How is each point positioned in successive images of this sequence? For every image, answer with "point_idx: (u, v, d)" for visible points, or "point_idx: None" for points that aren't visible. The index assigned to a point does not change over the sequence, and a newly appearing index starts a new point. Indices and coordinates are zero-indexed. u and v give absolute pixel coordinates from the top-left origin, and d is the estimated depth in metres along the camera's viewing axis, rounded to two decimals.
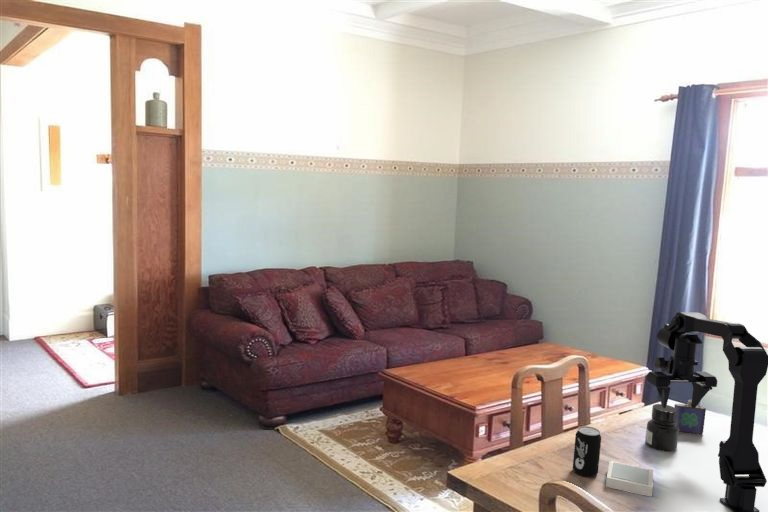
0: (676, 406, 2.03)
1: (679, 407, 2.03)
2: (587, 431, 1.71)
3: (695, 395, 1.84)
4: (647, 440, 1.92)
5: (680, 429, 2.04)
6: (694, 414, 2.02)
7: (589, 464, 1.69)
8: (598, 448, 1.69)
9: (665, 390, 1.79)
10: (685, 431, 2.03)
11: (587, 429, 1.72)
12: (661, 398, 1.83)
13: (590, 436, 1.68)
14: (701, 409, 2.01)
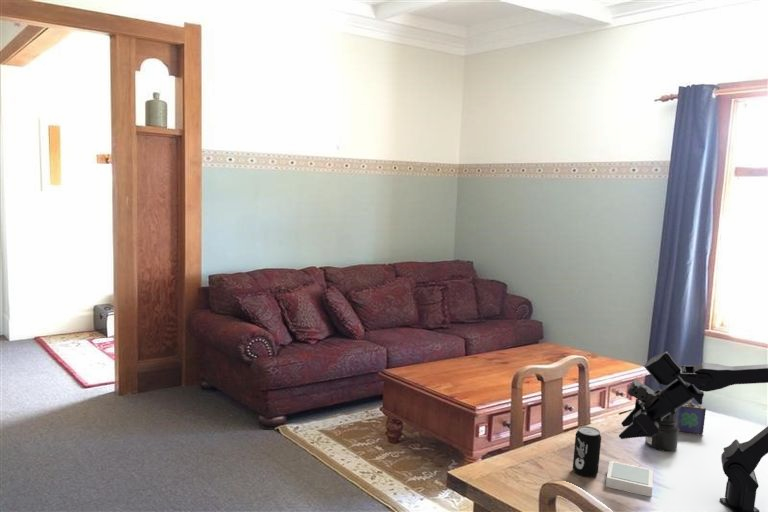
0: None
1: None
2: (587, 431, 1.71)
3: None
4: (647, 440, 1.92)
5: (680, 429, 2.04)
6: (694, 414, 2.02)
7: (589, 464, 1.69)
8: (598, 448, 1.69)
9: None
10: (685, 431, 2.03)
11: (587, 429, 1.72)
12: (628, 432, 1.62)
13: (590, 436, 1.68)
14: (701, 409, 2.01)
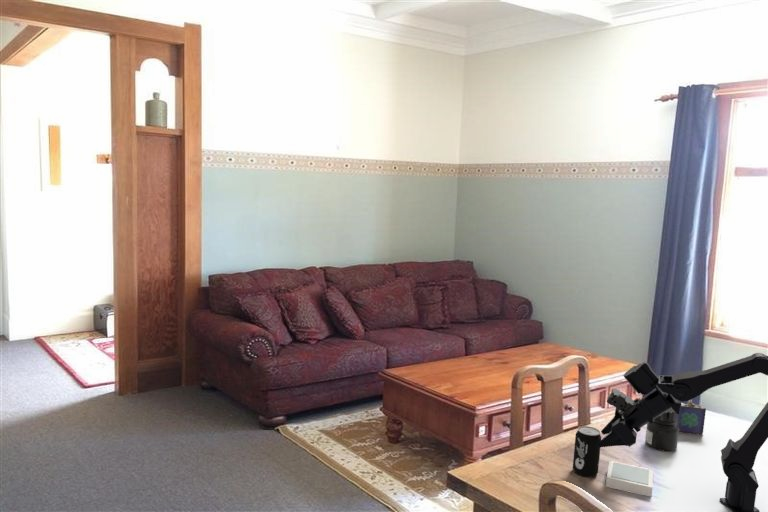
0: None
1: None
2: (587, 431, 1.71)
3: None
4: (647, 440, 1.92)
5: (680, 429, 2.04)
6: (694, 414, 2.02)
7: (590, 464, 1.69)
8: (598, 448, 1.69)
9: None
10: (685, 431, 2.03)
11: (587, 429, 1.72)
12: (607, 441, 1.64)
13: (590, 436, 1.68)
14: (701, 409, 2.01)
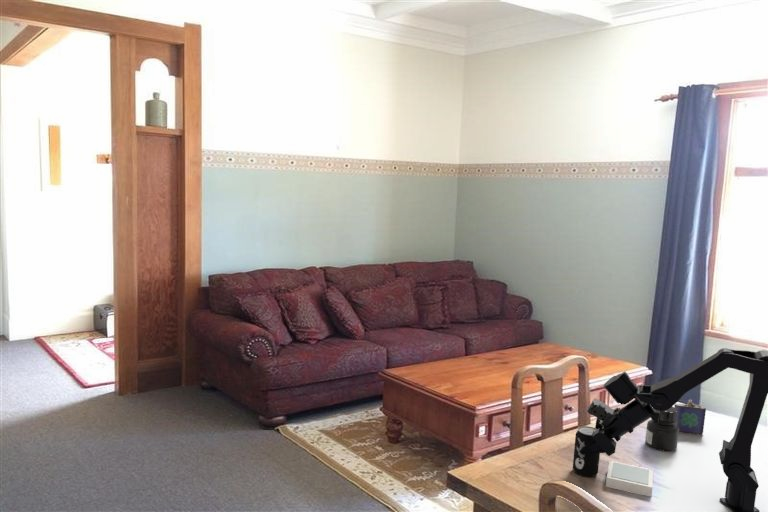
0: (676, 406, 2.03)
1: (679, 407, 2.03)
2: (587, 431, 1.71)
3: None
4: (647, 440, 1.92)
5: (680, 429, 2.04)
6: (694, 414, 2.02)
7: (590, 464, 1.69)
8: None
9: None
10: (685, 431, 2.03)
11: (587, 429, 1.72)
12: (588, 448, 1.67)
13: (590, 436, 1.68)
14: (701, 409, 2.01)
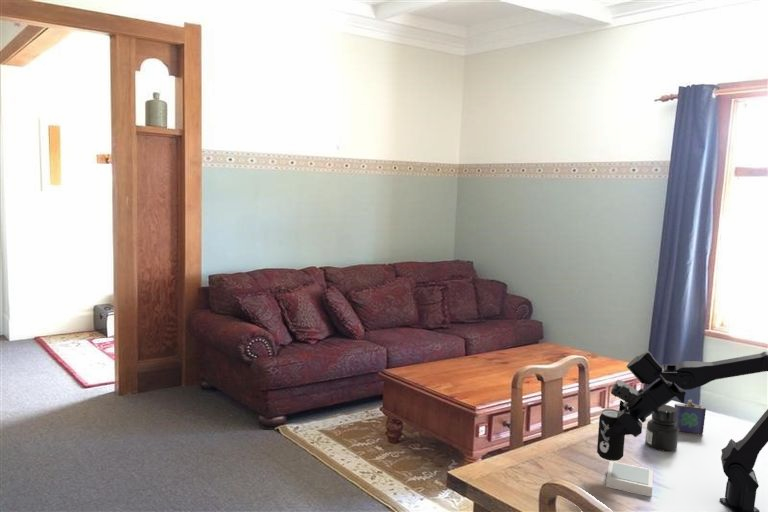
0: (676, 406, 2.03)
1: (679, 407, 2.03)
2: (612, 414, 1.68)
3: None
4: (647, 440, 1.92)
5: (680, 429, 2.04)
6: (694, 414, 2.02)
7: (615, 447, 1.66)
8: None
9: None
10: (685, 431, 2.03)
11: (611, 412, 1.69)
12: (613, 431, 1.64)
13: (614, 418, 1.65)
14: (701, 409, 2.01)
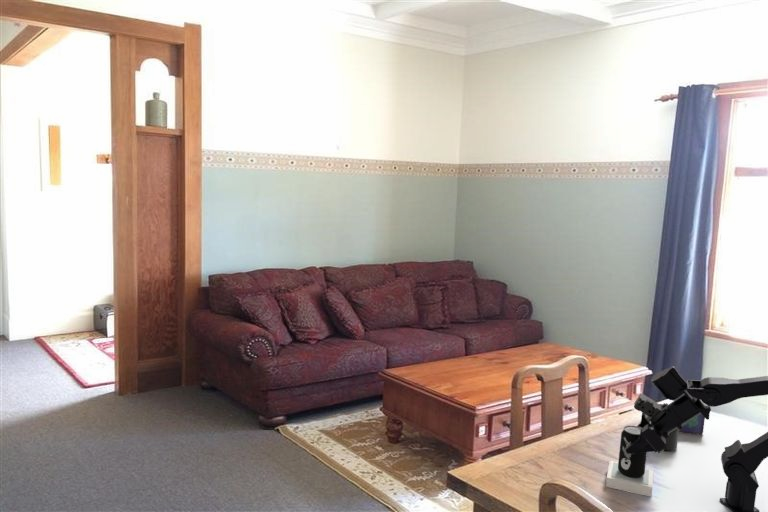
0: None
1: None
2: (634, 431, 1.66)
3: None
4: None
5: (680, 429, 2.04)
6: None
7: (636, 465, 1.64)
8: None
9: None
10: (685, 431, 2.03)
11: (633, 428, 1.67)
12: (635, 447, 1.61)
13: (637, 435, 1.63)
14: None
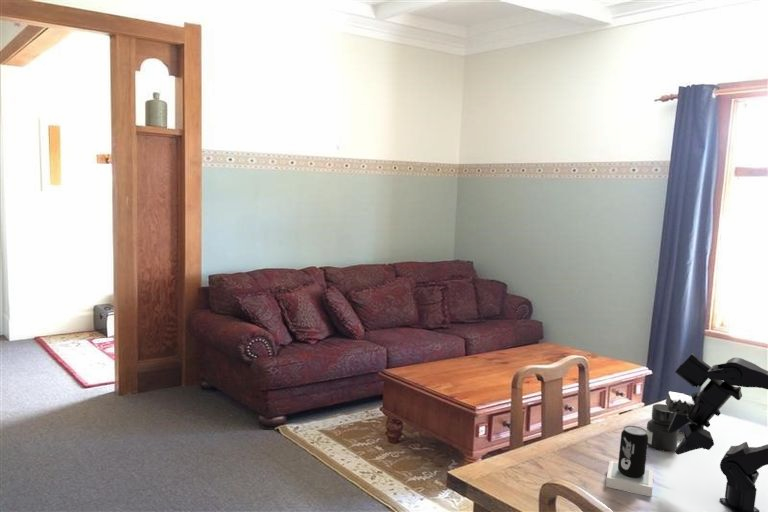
0: None
1: None
2: (634, 431, 1.66)
3: (678, 421, 1.69)
4: None
5: (680, 429, 2.04)
6: None
7: (636, 465, 1.64)
8: (645, 448, 1.64)
9: None
10: None
11: (633, 428, 1.67)
12: (683, 448, 1.60)
13: (637, 435, 1.63)
14: None
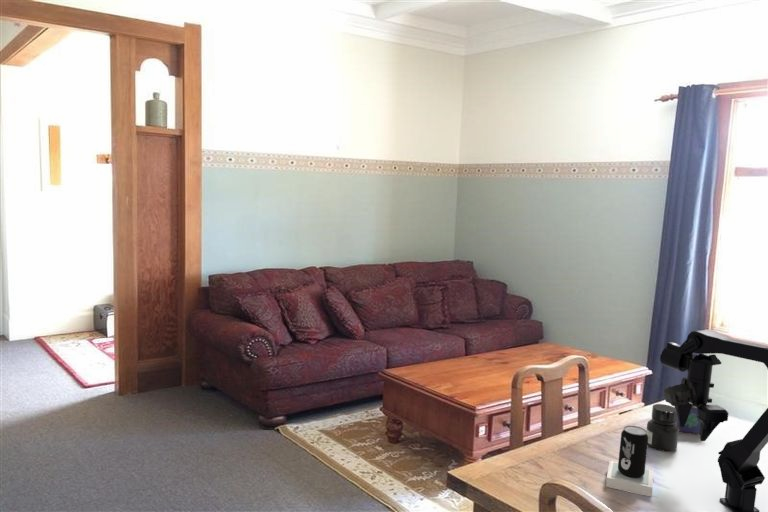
0: None
1: None
2: (634, 431, 1.66)
3: (683, 413, 1.74)
4: None
5: (680, 429, 2.04)
6: (694, 414, 2.02)
7: (636, 465, 1.64)
8: (645, 448, 1.64)
9: None
10: (685, 431, 2.03)
11: (633, 428, 1.67)
12: (706, 432, 1.64)
13: (637, 435, 1.63)
14: None
